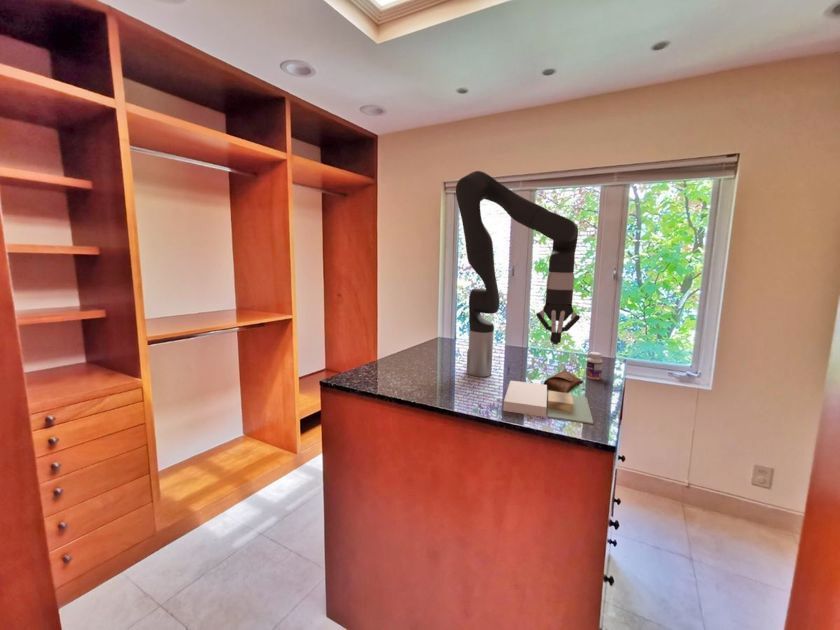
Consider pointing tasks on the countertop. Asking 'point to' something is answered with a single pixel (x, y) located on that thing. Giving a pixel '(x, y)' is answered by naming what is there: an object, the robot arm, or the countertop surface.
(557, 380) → the sunglasses case
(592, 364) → the pill bottle
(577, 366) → the countertop surface
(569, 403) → the birch tile
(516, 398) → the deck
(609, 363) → the countertop surface
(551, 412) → the mat
